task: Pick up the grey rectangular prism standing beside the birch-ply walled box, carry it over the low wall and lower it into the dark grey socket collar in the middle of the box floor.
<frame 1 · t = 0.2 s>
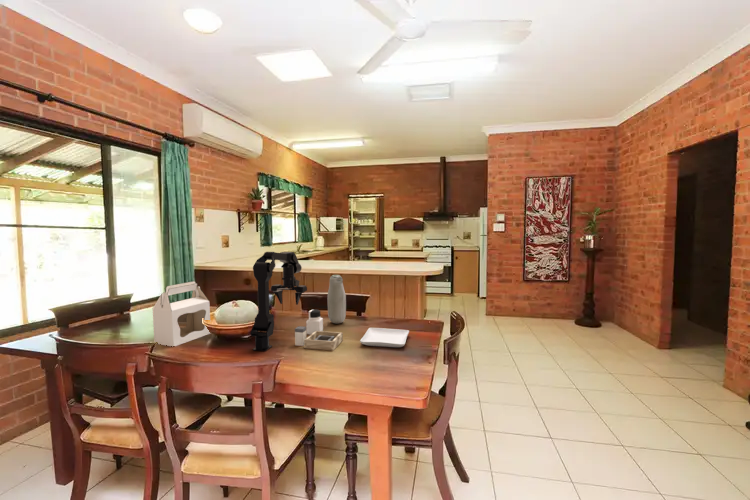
hand: (289, 304, 186), 14 cm above the table, tool pointing down, fingers open, 9 cm apart
grey rectangular prism: (300, 344, 166), on the table
gable box: (183, 338, 176), on the table
socket box: (324, 344, 166), on the table
medicine bottle: (314, 332, 184), on the table
tall grey vase: (336, 323, 201), on the table
salad plate: (385, 342, 170), on the table
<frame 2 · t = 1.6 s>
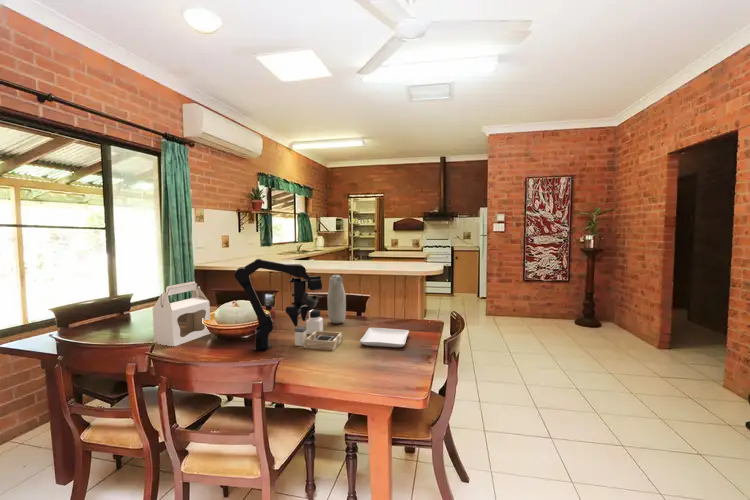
hand: (300, 323, 166), 10 cm above the table, tool pointing down, fingers open, 9 cm apart
nothing on the table moved.
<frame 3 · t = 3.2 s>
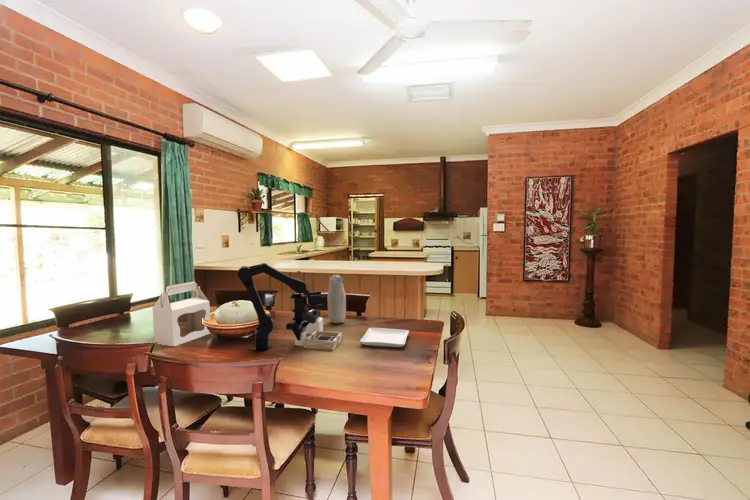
hand: (300, 338, 166), 3 cm above the table, tool pointing down, fingers closed on grey rectangular prism, 4 cm apart
grey rectangular prism: (300, 344, 166), on the table, touching gripper
everything else where it was.
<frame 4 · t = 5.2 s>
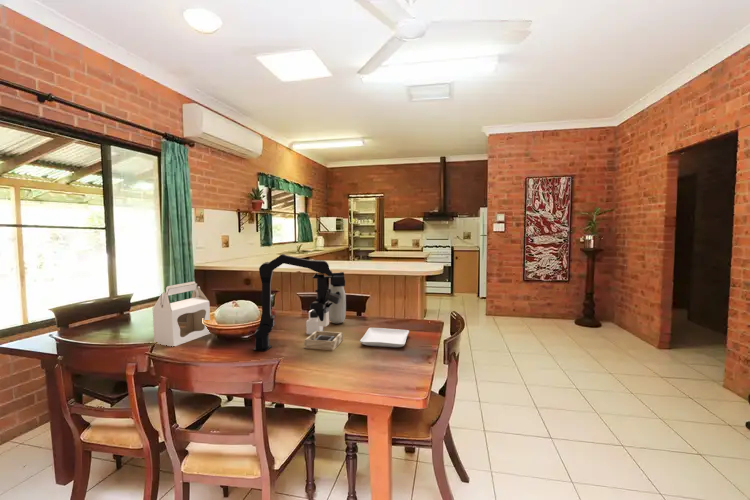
hand: (323, 319, 165), 12 cm above the table, tool pointing down, fingers closed on grey rectangular prism, 4 cm apart
grey rectangular prism: (323, 324, 165), point 9 cm above the table, touching gripper
everything else where it was.
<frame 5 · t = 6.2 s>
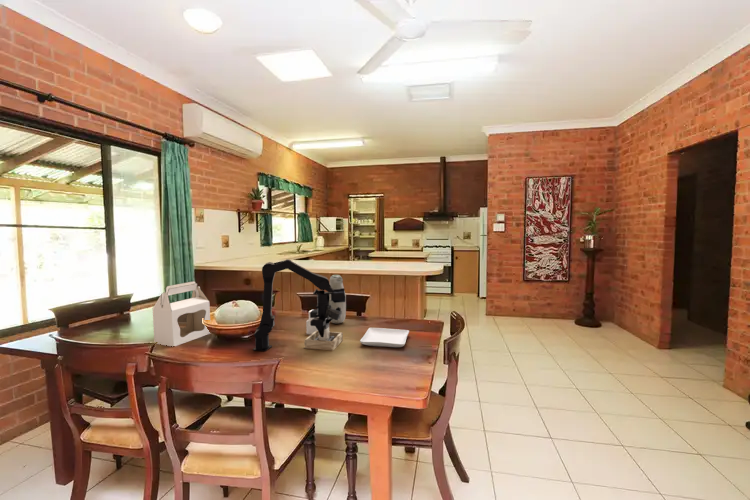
hand: (323, 335, 166), 4 cm above the table, tool pointing down, fingers closed on grey rectangular prism, 4 cm apart
grey rectangular prism: (324, 340, 166), point 2 cm above the table, touching gripper
everything else where it was.
when the fingers open (4 cm above the table, at t = 6.9 s): grey rectangular prism stays where it is, resting on socket box.
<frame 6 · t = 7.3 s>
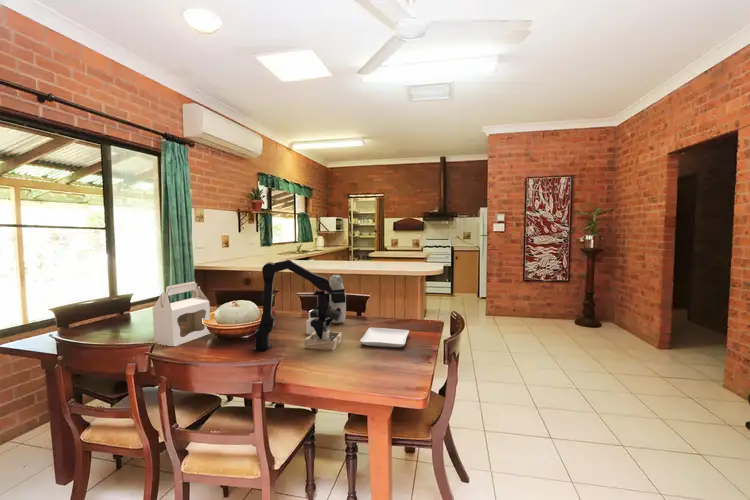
hand: (324, 336, 166), 4 cm above the table, tool pointing down, fingers open, 8 cm apart
grey rectangular prism: (324, 343, 166), resting on socket box
everything else where it was.
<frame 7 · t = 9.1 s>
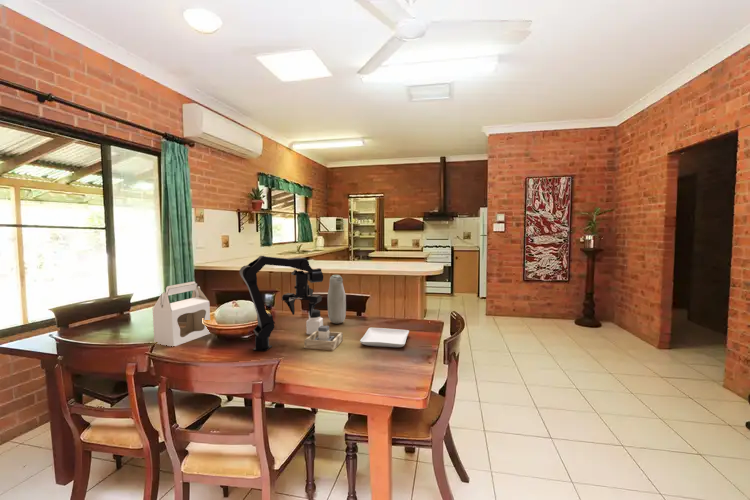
hand: (302, 315, 170), 13 cm above the table, tool pointing down, fingers open, 9 cm apart
nothing on the table moved.
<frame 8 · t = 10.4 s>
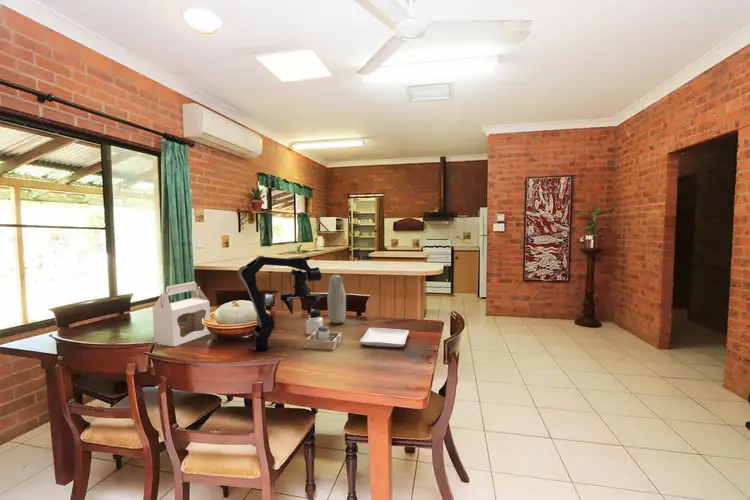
hand: (300, 314, 171), 13 cm above the table, tool pointing down, fingers open, 9 cm apart
nothing on the table moved.
at the end: grey rectangular prism 0.0 cm off-centre on the socket box, point 0.4 cm above the socket box's base; grey rectangular prism tilted 0°; the gripper is holding nothing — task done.
